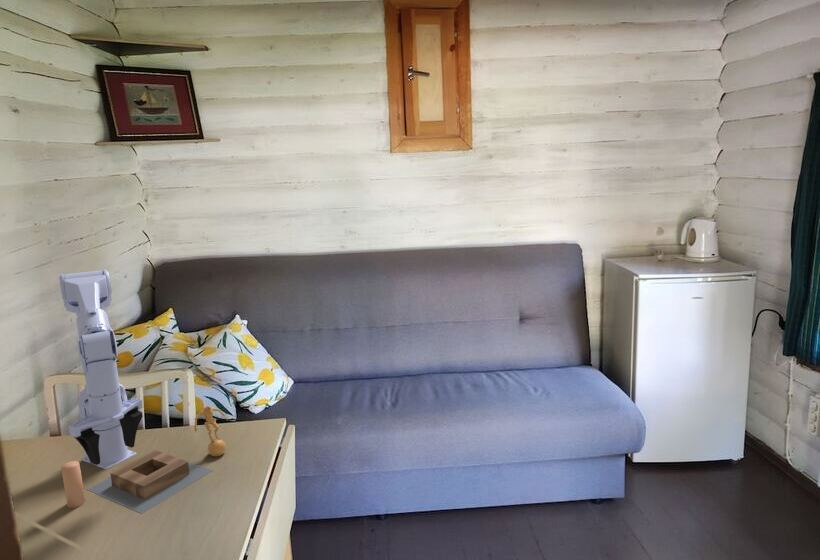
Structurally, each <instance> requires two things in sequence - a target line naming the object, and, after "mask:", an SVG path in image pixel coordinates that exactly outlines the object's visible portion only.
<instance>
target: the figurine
mask: <svg viewBox="0 0 820 560" xmlns="http://www.w3.org/2000/svg"><path fill="white" fill-rule="evenodd" d="M214 412H219V413H220V414H221V415H222V416H223V417H225V419H226V420H228V418H227V416H226V414H225V413H224V412H223V411H222V410H221V409H220V408H215V407H212V406H210V405H207V406H203V407H202V409H201V411H200V412H199V414H197V415H196V416H195V417H194V432H198V430H199V429H198V428H197V426H198V419H199V418H200V417H202V416H203V417H204V418H205V422H204V427H205V428H206V430H207V431H208V433H207V435H208V438H209V439H210V442H209V444H208V446H207V452H208V453H209V454H210V455H211V456H212V457H215V458H216V457H220V456H222V455H224V453H225V451H226V450H227V448H226V442H225V441H223V439H221V438H220V437H219V436H218V433H217V432H218V431H219V428H220V427H219V425H218V424H217V422H216V418H213V414H214ZM213 428H214V433H213V434H214V437H215V439H213V437H212V429H213Z"/></svg>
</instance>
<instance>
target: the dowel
mask: <svg viewBox="0 0 820 560" xmlns="http://www.w3.org/2000/svg"><path fill="white" fill-rule="evenodd" d="M60 470H61V476H62V481H63V487H64V494H65V500H66V505H67V508H69V509H74V508H79V507H81V506H83V505H84V504H85V503H86V497H85V491H84V483H83V477H82V471H81V465H80V461H78V460H72V461H68V462H65V463H63V464H62V465H61V467H60Z"/></svg>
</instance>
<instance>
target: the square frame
mask: <svg viewBox="0 0 820 560" xmlns="http://www.w3.org/2000/svg"><path fill="white" fill-rule="evenodd" d="M188 462H189V461H187V460H185V459H182V458H179V457H176V456H174V455H170V454H167V453H164V452H162V451H159V450H156V449H154V450H152V451H150V452H148V453H146V454H144V455H142V456H140V457H138V458H136V459H135V460H132V461H131V462H129V463H127V464H125V465H123V466H121V467H118V468H117V469H115V470H113V471H111V472H110V473H109V474H110V477H111V481H112V486H114V487H117V488H119V489H121V490H124V491H126V492H128V493H131V494H133V495H136V496H138V497H140V498H143V499H145V500H146V499H148V498H149V497H151V496H153V495H154V494H156V493H158V492H160V491H161V490H163V489H165V488H166V487H168V486H170V485H172V484H173V483H175V482H177V481H178V480H180V479H182V478H184V477H185V476H187V475H189V466H188ZM153 471H155V472H153ZM151 472H153V473H151ZM149 473H151V474H150V475H148V474H149ZM146 475H148V476H146Z"/></svg>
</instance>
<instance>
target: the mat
mask: <svg viewBox="0 0 820 560" xmlns="http://www.w3.org/2000/svg"><path fill="white" fill-rule="evenodd" d="M188 466H189V475H187V476H185V477H184V478H182V479H180V480H178V481H177V482H175V483H173V484H172V485H170V486H168V487H166V488H165V489H163V490H161V491H160V492H158V493H156V494H154V495H153V496H151V497H149V498H148V499H146V500H145V499H143V498H140V497H138V496H136V495H133V494H131V493H128V492H126V491H124V490H121V489H119V488H117V487H114V486H112V481H111V476H110V477H108V478H107V479H104V480H102V481H100V482H99V483H96V484H95V485H93V486H90V487H89V488H87V489H86V491H89V492H91V493H93V494H95V495H98V496H99V497H102V498H105V499H106V500H110V501H111V502H114V503H116V504H118V505H121V506H123V507H125V508H127V509H130V510H132V511H134V512H137V513H139V514H141V515H142V514H143V513H146V512H147V511H149V510H150V509H152V508H154V507H155V506H157V505H159V504H160V503H162V502H164V501H165V500H167V499H169V498H170V497H172V496H173V495H176V494H177V493H178V492H180V491H182V490H184V489H185V488H187V487H189V486H190V485H192V484H194V483H195V482H197V481H199V480H200V479H202V478H203V477H205V476H207V475H208V474H210V473H212V472H213V471H214V470H213V469H210V468H207V467H204V466H201V465H198V464H196V463H193V462H191V461H188ZM153 472H155V471H153ZM153 472H151V473H153ZM151 473H149V474H148V475H150V474H151ZM148 475H146V476H148Z"/></svg>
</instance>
